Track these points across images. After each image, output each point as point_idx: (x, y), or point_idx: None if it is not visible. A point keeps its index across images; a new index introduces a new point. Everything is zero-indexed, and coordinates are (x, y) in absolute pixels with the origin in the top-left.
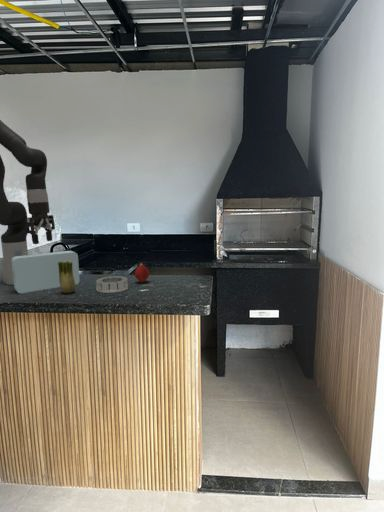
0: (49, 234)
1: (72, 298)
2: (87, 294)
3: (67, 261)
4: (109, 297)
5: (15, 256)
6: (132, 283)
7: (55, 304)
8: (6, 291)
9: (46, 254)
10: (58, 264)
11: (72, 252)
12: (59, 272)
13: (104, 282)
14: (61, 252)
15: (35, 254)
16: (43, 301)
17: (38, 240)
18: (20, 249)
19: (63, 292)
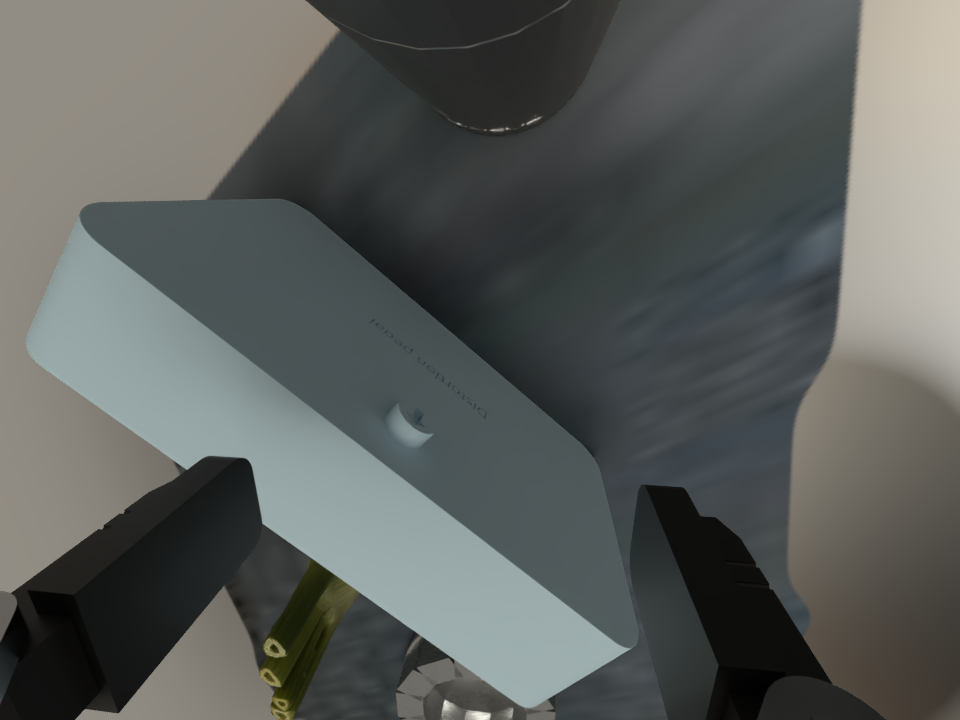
0: (670, 679)
1: (297, 570)
2: (368, 603)
3: (276, 705)
4: (358, 683)
5: (93, 247)
6: (586, 716)
7: None
8: (265, 146)
9: (333, 526)
10: (276, 622)
11: (507, 696)
12: (304, 575)
13: (417, 698)
14: (485, 610)
15: (292, 411)
16: None
17: (221, 583)
18: (347, 26)
19: None
